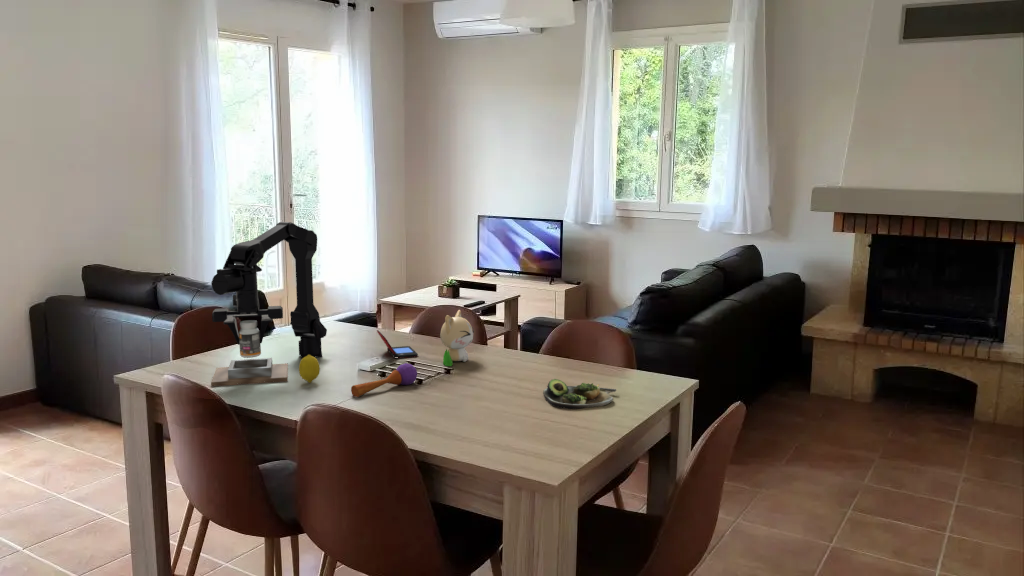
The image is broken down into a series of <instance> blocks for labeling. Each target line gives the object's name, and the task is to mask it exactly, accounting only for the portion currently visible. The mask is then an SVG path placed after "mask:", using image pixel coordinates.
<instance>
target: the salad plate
mask: <svg viewBox="0 0 1024 576" xmlns="http://www.w3.org/2000/svg"><path fill="white" fill-rule="evenodd" d="M599 386H600V384H597V385H594V383H585V382H581V384H578V385H567V384H566V383H565V382H564V381H562V380H560V379H557V378H554V379H551V380H550V381H548V384H547V385H546V387H547V388H544V390H543V392H542V394H543V397H544V400H546V402H547V403H548V404H550V406H553V407H556V408H557V409H558V408H559V409H566V410H571V409H572V410H578V409H589V408H596V407H601V406H606V405H609V403H611V402H613V401H614V398H613V396H612V395H610V393H615V392H616V391H617V389H616V388H608V387H599ZM591 401H599V402H595V403H587V402H591Z"/></svg>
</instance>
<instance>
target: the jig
mask: <svg viewBox="0 0 1024 576" xmlns="http://www.w3.org/2000/svg"><path fill="white" fill-rule="evenodd" d="M288 375H289V363H273V358H272V357H264V358H244V359H231V360H230V362H229V366H222V367H221V366H219V367H216V368H215V370H214V373H213V376H212V379H211V381H210V386H211V387H223V386H226V387H227V386H239V385H240V386H241V385H252V384H253V385H255V384H268V383H269V384H270V383H282V382H283V383H284V382H288V377H289V376H288Z"/></svg>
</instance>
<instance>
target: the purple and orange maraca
mask: <svg viewBox="0 0 1024 576" xmlns="http://www.w3.org/2000/svg"><path fill="white" fill-rule="evenodd" d="M417 376H418V371H417V368H416V367H415V366H414V365H413V364H411V363H407V362H405V363H403V364H400V365H398V366H397V368H396V369H393V370H392V372H391V373H389V375H388V376H387V377H386V378H383V379H379V380H375V381H374V380H373V381H369V382H363V383H358V384H355V385H354V384H353V385H352V386H351V388H350V392H351V394H352V396H353V397H354V398H360V397H361V396H363V395H365V394H367V393H369V392H371V391H374V390H376V389H377V388H380V387H381V386H384V385H385V384H389V385H396V386H399V385H403V386H409V385H412V384H413V383H414V382H415V381H416V380H417V378H418V377H417Z"/></svg>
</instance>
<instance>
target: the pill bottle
mask: <svg viewBox="0 0 1024 576" xmlns="http://www.w3.org/2000/svg"><path fill="white" fill-rule="evenodd" d="M257 326H258V321H257V320H255V319H247V320H242V321H240V322H239V327H240V329H239V330H238V334H239V345H238V346H239V356H240V358H241V357H242V358H244V359H254V358H257V357H259V356H261V354H262V346H261V343H260V331H261V330H259V328H258V327H257Z"/></svg>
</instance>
